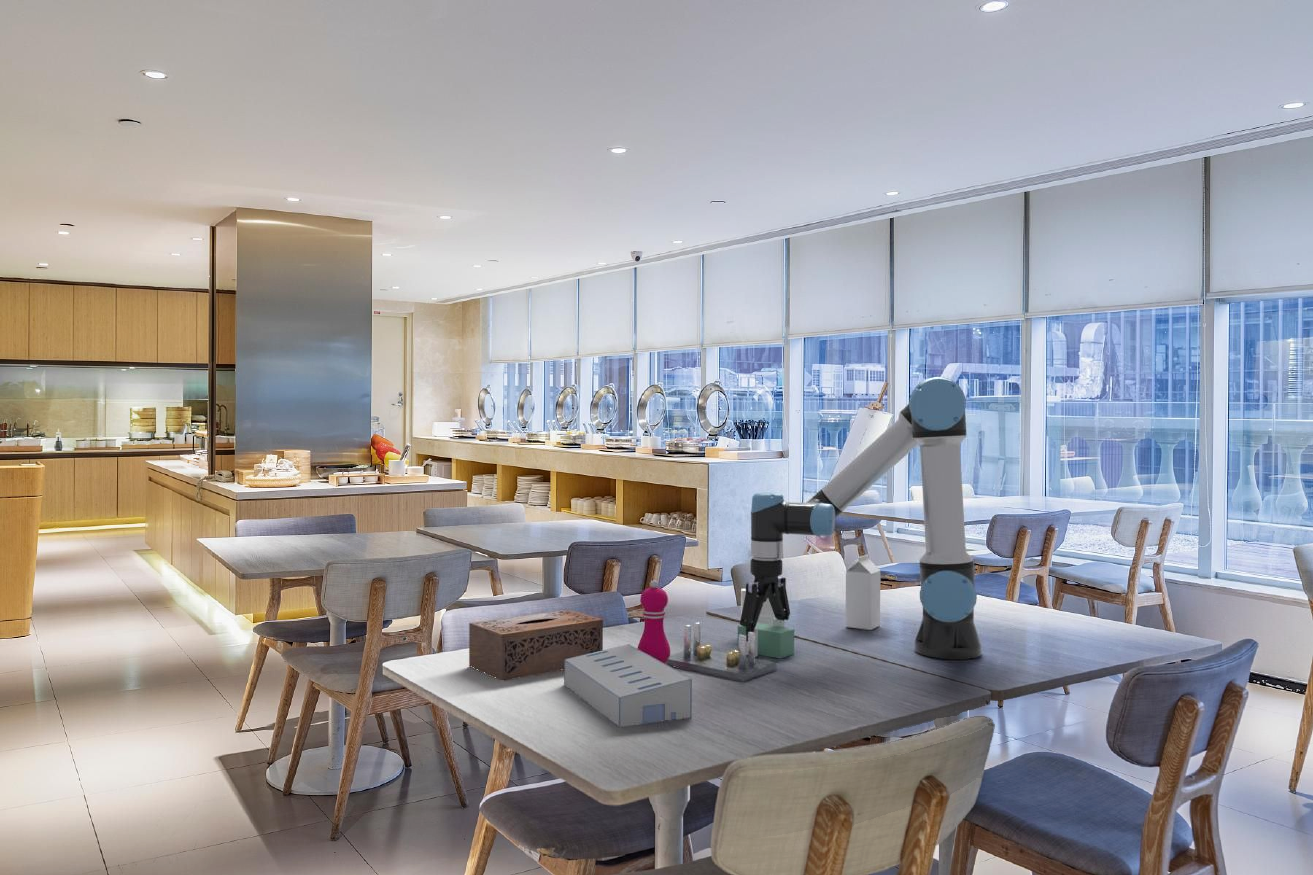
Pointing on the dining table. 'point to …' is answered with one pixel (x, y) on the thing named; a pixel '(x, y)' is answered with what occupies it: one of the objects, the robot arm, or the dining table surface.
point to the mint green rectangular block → (772, 640)
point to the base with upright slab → (766, 611)
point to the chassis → (720, 658)
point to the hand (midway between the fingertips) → (765, 650)
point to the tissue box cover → (532, 643)
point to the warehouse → (629, 686)
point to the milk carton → (863, 594)
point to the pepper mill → (654, 623)
